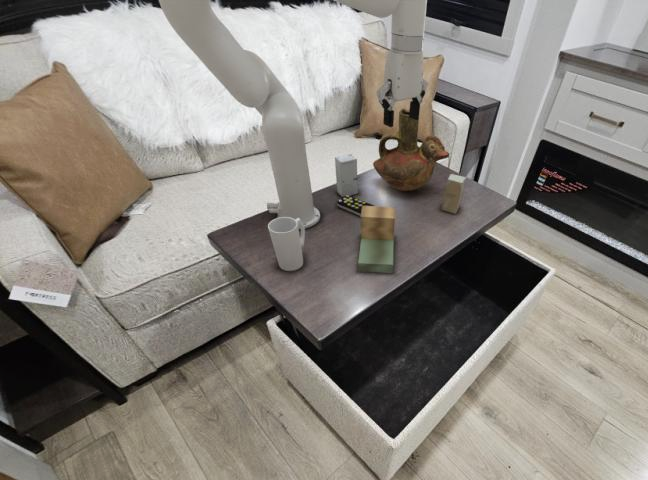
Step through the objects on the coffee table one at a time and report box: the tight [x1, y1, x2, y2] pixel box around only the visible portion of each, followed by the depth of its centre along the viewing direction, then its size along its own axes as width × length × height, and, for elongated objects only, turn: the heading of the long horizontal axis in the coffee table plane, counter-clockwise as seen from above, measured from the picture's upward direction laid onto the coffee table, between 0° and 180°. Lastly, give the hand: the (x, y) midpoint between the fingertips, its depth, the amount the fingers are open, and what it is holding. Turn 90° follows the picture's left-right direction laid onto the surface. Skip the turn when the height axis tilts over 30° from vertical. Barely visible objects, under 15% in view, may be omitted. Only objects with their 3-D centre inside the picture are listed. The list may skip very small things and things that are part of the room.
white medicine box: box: [334, 153, 359, 198], centre depth 111 cm, size 6×4×12 cm
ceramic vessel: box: [372, 107, 451, 192], centre depth 112 cm, size 17×26×25 cm, turn 77°
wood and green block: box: [357, 205, 396, 274], centre depth 90 cm, size 9×16×10 cm, turn 0°
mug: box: [267, 217, 306, 272], centre depth 85 cm, size 10×7×12 cm, turn 151°
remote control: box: [336, 195, 375, 217], centre depth 108 cm, size 6×13×2 cm, turn 57°
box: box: [441, 173, 467, 215], centre depth 108 cm, size 5×4×11 cm
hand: (401, 122), depth 91 cm, fingers open, 9 cm apart
